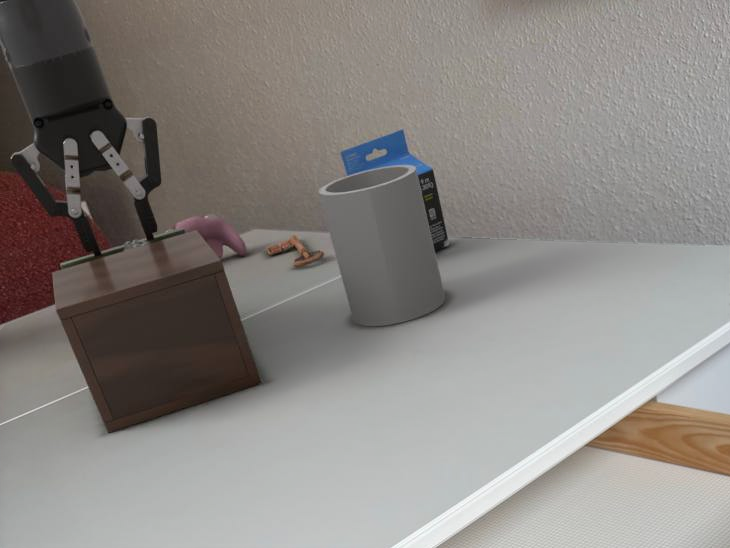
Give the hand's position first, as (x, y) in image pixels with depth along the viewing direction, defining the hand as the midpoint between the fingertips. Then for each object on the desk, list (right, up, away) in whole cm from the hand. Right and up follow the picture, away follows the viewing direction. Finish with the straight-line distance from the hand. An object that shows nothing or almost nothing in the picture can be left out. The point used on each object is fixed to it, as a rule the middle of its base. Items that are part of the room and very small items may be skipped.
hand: (123, 246), depth 106 cm
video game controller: (0, +9, +33) cm, 34 cm away
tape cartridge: (+27, +4, +15) cm, 31 cm away
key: (+12, +9, +27) cm, 31 cm away
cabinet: (+6, -14, -5) cm, 17 cm away
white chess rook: (+2, -7, +4) cm, 8 cm away
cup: (+27, -6, 0) cm, 28 cm away
